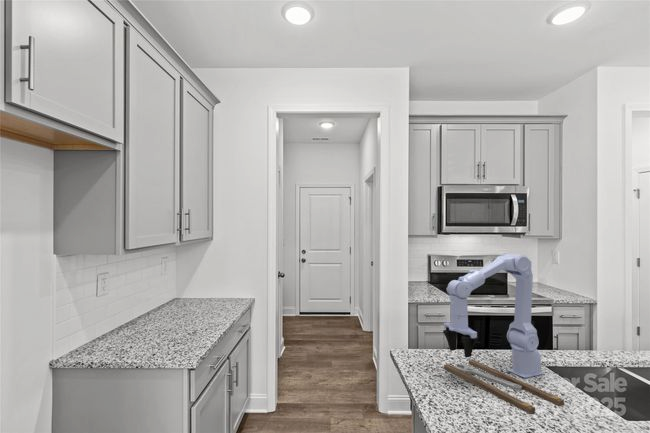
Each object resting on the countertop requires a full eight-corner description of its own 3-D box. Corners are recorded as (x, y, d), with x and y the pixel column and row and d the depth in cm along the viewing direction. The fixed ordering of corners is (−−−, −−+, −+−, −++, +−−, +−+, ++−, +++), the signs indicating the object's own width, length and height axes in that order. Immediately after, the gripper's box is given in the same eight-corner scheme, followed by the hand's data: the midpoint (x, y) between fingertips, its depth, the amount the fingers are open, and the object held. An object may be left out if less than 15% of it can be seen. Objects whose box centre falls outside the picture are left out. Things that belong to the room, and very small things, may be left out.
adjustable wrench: (523, 391, 124) (523, 385, 124) (512, 395, 121) (511, 390, 121) (462, 366, 146) (461, 362, 146) (450, 370, 142) (450, 365, 142)
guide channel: (472, 363, 148) (472, 359, 148) (564, 405, 113) (564, 399, 113) (443, 368, 143) (443, 364, 143) (530, 414, 108) (529, 408, 108)
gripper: (436, 311, 137) (437, 348, 137) (464, 320, 124) (466, 361, 123) (452, 309, 140) (453, 346, 139) (481, 318, 126) (482, 358, 126)
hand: (460, 353), depth 131 cm, fingers open, 7 cm apart
